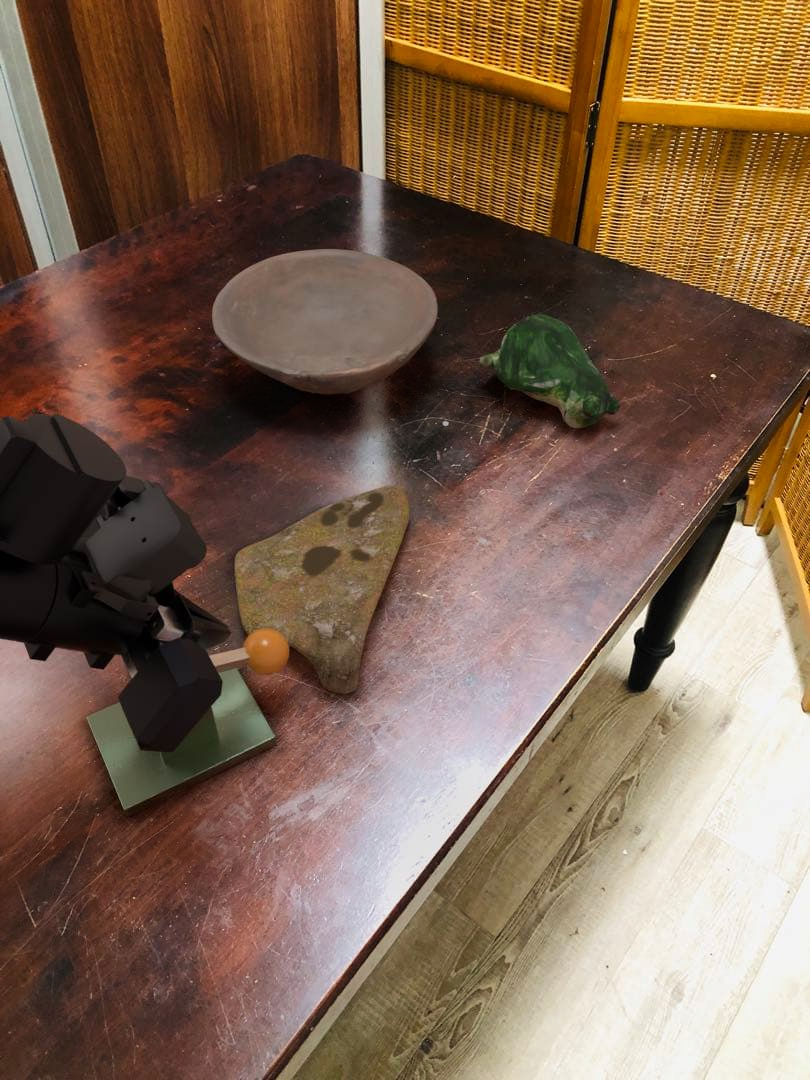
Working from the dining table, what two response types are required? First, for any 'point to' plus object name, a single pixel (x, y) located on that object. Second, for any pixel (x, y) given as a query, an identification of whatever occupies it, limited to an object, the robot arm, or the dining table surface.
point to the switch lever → (256, 654)
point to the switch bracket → (182, 747)
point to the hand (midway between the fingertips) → (226, 634)
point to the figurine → (552, 370)
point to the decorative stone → (325, 580)
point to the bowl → (325, 318)
